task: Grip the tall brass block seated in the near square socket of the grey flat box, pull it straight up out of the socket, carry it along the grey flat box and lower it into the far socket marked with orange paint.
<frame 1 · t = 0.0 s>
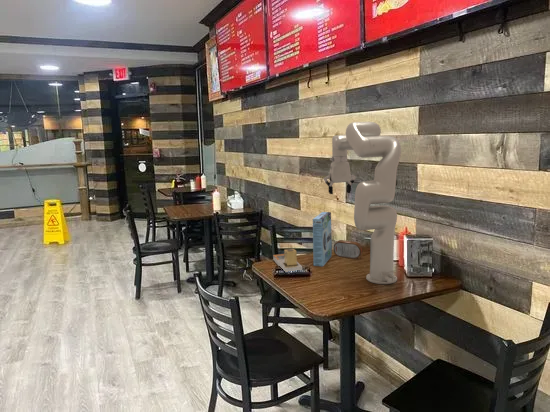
hand: (339, 193, 217), 31 cm above the table, tool pointing down, fingers open, 9 cm apart
nut block: (290, 269, 194), resting on grey flat box
grey flat box: (287, 266, 200), on the table
tin: (347, 257, 213), on the table
gum box: (322, 261, 207), on the table
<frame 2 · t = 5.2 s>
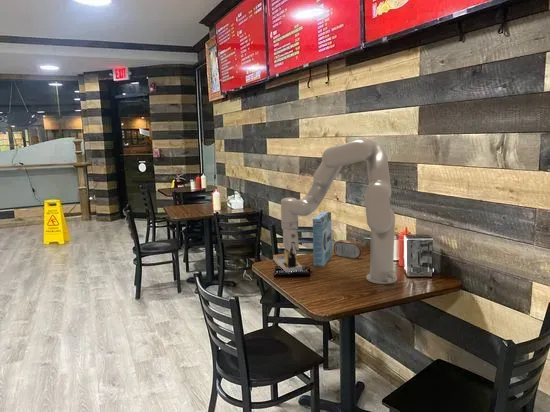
hand: (290, 263, 194), 3 cm above the table, tool pointing down, fingers closed on nut block, 4 cm apart
nut block: (290, 269, 194), resting on grey flat box, touching gripper
everything else where it was.
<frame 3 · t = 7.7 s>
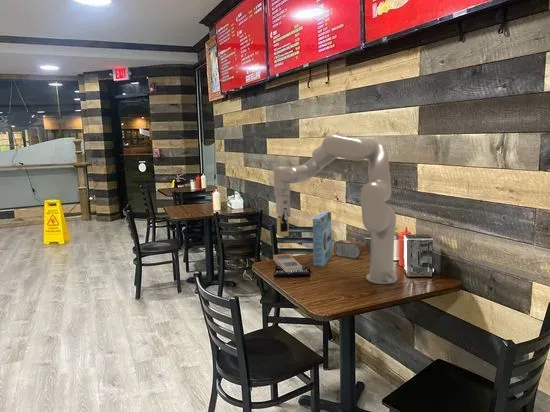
hand: (282, 229, 203), 17 cm above the table, tool pointing down, fingers closed on nut block, 4 cm apart
nut block: (282, 235, 203), point 14 cm above the table, touching gripper
everything else where it was.
when the fingers open (4 cm above the table, at t = 10.2 s): nut block drops 1 cm, resting on grey flat box.
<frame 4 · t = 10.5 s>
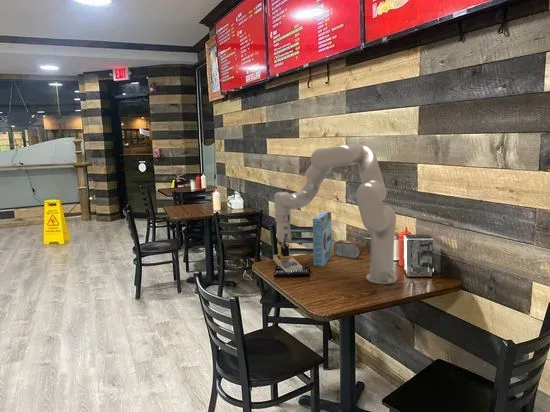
hand: (283, 253, 205), 5 cm above the table, tool pointing down, fingers open, 7 cm apart
nut block: (284, 262, 205), point 1 cm above the table, touching grey flat box
everything else where it was.
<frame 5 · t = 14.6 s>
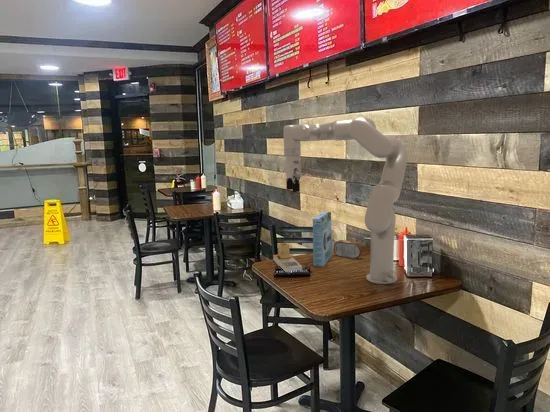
hand: (293, 190, 193), 36 cm above the table, tool pointing down, fingers open, 9 cm apart
nothing on the table moved.
at the end: nut block 0.1 cm from the target spot on the grey flat box, point 0.5 cm above the grey flat box's base; nut block tilted 0°; the gripper is holding nothing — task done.
